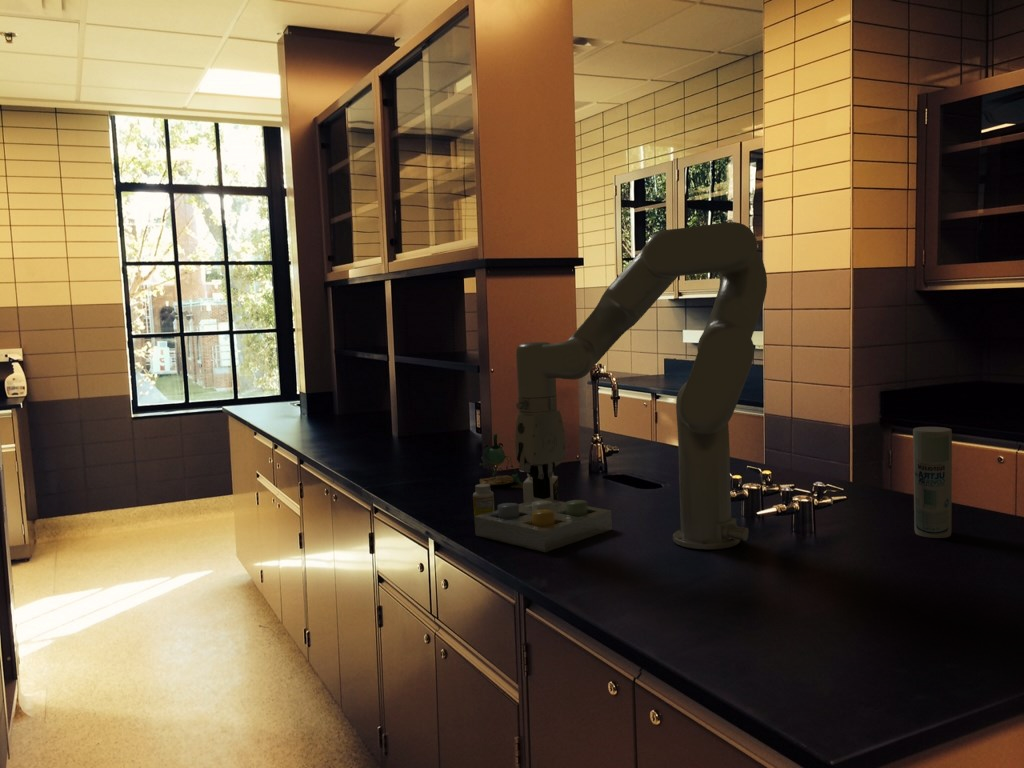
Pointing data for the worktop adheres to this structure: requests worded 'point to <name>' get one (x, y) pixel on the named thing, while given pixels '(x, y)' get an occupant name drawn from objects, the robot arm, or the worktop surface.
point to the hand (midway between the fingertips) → (541, 497)
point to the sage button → (576, 508)
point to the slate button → (508, 511)
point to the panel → (543, 538)
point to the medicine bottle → (529, 489)
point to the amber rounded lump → (543, 518)
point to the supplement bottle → (483, 500)
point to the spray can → (932, 481)
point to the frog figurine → (496, 458)
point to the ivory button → (542, 505)
